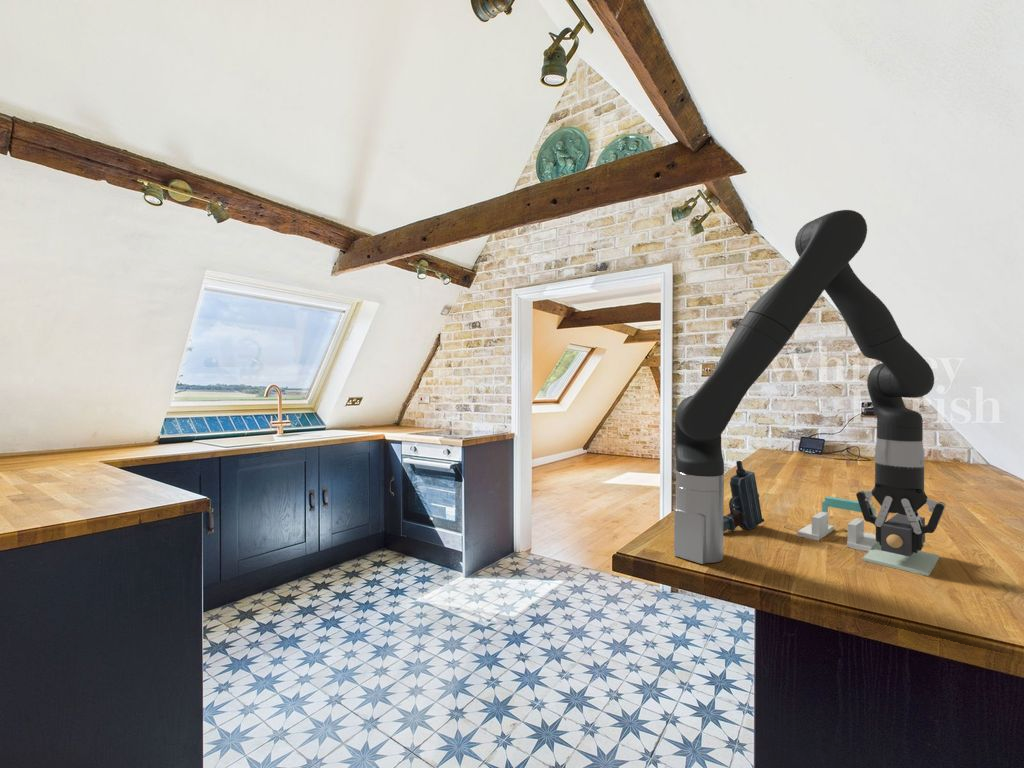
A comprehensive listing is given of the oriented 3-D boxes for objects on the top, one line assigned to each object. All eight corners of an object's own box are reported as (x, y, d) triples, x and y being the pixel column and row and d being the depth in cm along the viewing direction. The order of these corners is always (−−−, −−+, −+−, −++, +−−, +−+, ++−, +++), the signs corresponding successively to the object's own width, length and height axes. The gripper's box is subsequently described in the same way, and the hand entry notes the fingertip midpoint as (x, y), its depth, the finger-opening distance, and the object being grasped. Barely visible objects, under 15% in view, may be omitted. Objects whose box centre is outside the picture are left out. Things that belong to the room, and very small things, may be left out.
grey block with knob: (908, 557, 88) (908, 531, 88) (880, 551, 91) (879, 525, 91) (925, 540, 98) (925, 516, 98) (899, 535, 101) (898, 512, 101)
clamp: (871, 552, 99) (871, 529, 99) (797, 535, 109) (797, 514, 109) (883, 540, 107) (883, 518, 107) (813, 525, 117) (813, 506, 117)
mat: (928, 576, 87) (928, 573, 87) (862, 560, 94) (862, 557, 94) (939, 558, 96) (939, 555, 96) (878, 545, 103) (878, 542, 103)
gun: (703, 475, 110) (744, 455, 116) (715, 541, 112) (755, 518, 118) (712, 477, 107) (754, 457, 114) (724, 545, 109) (764, 520, 116)
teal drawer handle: (873, 523, 108) (873, 505, 108) (822, 513, 115) (822, 497, 115) (875, 521, 109) (875, 504, 109) (825, 512, 117) (825, 495, 117)
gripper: (950, 465, 89) (950, 553, 89) (859, 456, 100) (859, 535, 100) (945, 469, 84) (944, 563, 84) (850, 459, 95) (850, 543, 95)
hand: (898, 547), depth 92 cm, fingers closed on grey block with knob, 4 cm apart
